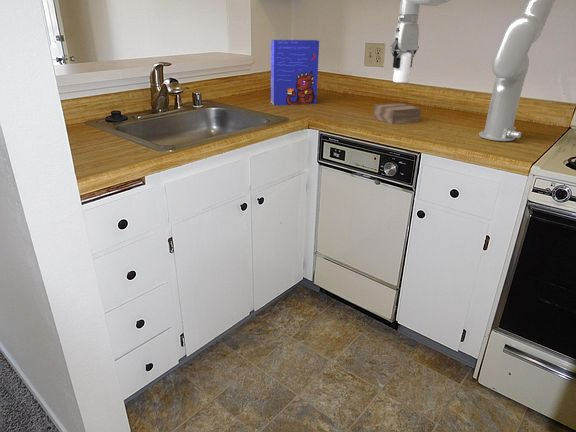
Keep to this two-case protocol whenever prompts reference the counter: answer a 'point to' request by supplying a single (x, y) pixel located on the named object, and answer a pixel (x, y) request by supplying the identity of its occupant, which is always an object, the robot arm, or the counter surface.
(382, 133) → the counter surface
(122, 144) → the counter surface
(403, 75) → the can
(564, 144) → the counter surface
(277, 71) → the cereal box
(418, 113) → the walnut block
